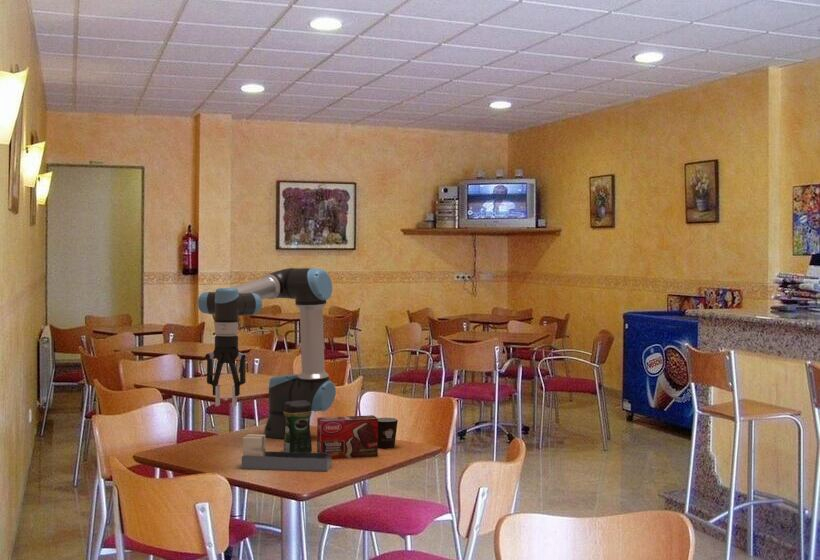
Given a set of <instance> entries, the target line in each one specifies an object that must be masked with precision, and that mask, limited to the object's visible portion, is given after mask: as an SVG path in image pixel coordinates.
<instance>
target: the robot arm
mask: <svg viewBox="0 0 820 560" xmlns="http://www.w3.org/2000/svg"><path fill="white" fill-rule="evenodd" d="M332 292H333V282H332V279H331V276H330V274H328V272H327V271H326V270H324V269H322V268H315V267H309V268H307V267H305V268H303V267H301V268H300V267H299V268H297V267H296V268H295V267H290V268H289V267H288V268H284V269H279V270H276V271H273V272H270V273H267V274H263V275H262V276H261V277H260V278H259V279H256V280H252V281H249V282H246V283H242V284H238V285H235V286H232V287H218V288H216V290H215V291H204V292H202V293H201V294H200V295H199V297H198V300H197V306H198V310H199V311H200V312H201V313H203V314H208V315H214V317H215V318H214V334H215V336H214V349H213V352H210V353H206V354H205V358H206V384H208V385H211V386H212V396H215V398H214V399H215V405H214V406H215V407H219V406H221V385H220V384H219V381H220V378H221V372H222V369H223V367H224V366H223V365H224V364H227V365H228V366H229V367H230V371H231V372H230V373H231V376H232V380H233V384H234V385H232V391H231V394H232V395H231V396H232V397H231V398H232V399H231V400H232V401H231V402H232V403H231V406H232V407H236V406H237V405H238V404H237V403H238V396H240V394H241V390H240V389H241V386H242V385H244V384H246V361H247V358H248V354H246V353H242V352H240V350H239V336H238V334H239V316H240V317H241V316H253V315H254V316H255V315H258V314H259V312H261V310H262V308H263V301H262V300H274V299H289V300H290V299H291V300H292V299H293V300H294V301H295V307H297V308H298V309H299V324H300V326H299V327H300V328H299V330H300V353H301V354H300V355H301V372H300V373H299V374H297V373H296V374H295V373H294V374H286V375H285V374H284V375H277V376H273V377H271V378H270V379H269V382H268V383H269V384H268V389H267V390H268V417H267V420H266V424H265V426H264V429H263V435H265V438H270V439H271V438H272V439H284V438H285V426H286V420H285V416H284V412H283V411H284V404H285V402H289V401H298V400H306V401H309V402H310V404H311V411H312V412H314V413H317V412H326V411H328V410H329V409H330V408H331V407H332V405H333V403H334V402H335V399H336V393H337V390H336V385H335V383H334V382H333V381H331V380H330V375H329V373H328V372H326V370H325V342H324V337H325V336H324V315H323V314H324V313H323V312H324V311H323V308H324V307H325V306H326V305H327V300H328V299H330V298H331V296H332ZM214 358H215V359H216V360H217V361H216V368H215V372H214ZM237 358H238V359H239V374H238V369H237V364H236V360H237Z"/></svg>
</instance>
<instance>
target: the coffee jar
mask: <svg viewBox="0 0 820 560" xmlns="http://www.w3.org/2000/svg"><path fill="white" fill-rule="evenodd" d="M283 412H284V416H285V420H286V426H285V438H283V452H309V453H313V452H312V451H313V449H312V448H313V447H312V436H311V427H310V426H311V425H310V424H311V423H310V422H311V421H310V419H311V416H312V412H313V411H311V404H310V402H309V401H306V400H298V401H289V402H285V404H284V411H283Z"/></svg>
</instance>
